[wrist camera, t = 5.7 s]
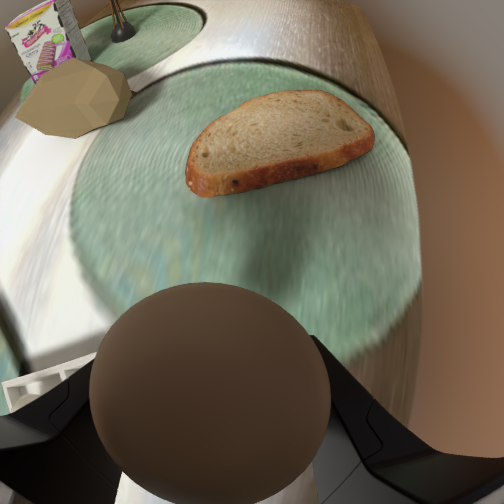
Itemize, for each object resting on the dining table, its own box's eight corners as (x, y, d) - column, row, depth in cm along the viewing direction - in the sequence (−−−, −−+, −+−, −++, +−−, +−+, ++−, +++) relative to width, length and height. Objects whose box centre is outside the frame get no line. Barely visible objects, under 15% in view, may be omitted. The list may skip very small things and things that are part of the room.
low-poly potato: (41, 137, 31) (14, 166, 22) (37, 66, 24) (5, 73, 16) (136, 122, 36) (136, 145, 28) (139, 50, 29) (139, 46, 21)
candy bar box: (36, 90, 35) (3, 28, 19) (47, 74, 37) (18, 15, 21) (83, 74, 35) (53, 0, 20) (93, 59, 37) (67, -11, 21)
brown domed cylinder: (292, 393, 14) (412, 481, 3) (209, 426, 14) (124, 565, 2) (256, 313, 16) (281, 194, 4) (174, 346, 15) (10, 309, 4)
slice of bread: (171, 189, 27) (162, 167, 24) (238, 83, 33) (238, 61, 30) (352, 249, 25) (367, 232, 22) (373, 122, 31) (383, 102, 28)
